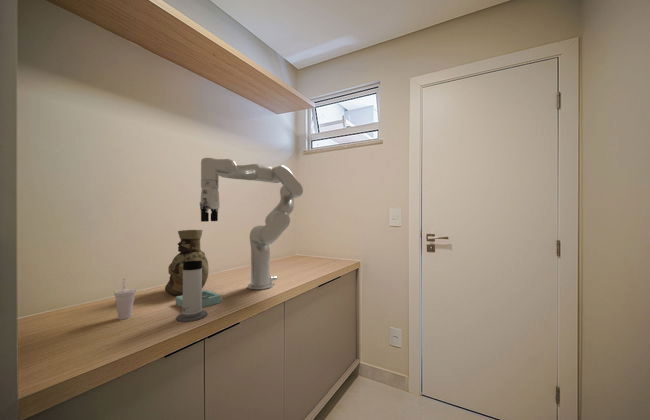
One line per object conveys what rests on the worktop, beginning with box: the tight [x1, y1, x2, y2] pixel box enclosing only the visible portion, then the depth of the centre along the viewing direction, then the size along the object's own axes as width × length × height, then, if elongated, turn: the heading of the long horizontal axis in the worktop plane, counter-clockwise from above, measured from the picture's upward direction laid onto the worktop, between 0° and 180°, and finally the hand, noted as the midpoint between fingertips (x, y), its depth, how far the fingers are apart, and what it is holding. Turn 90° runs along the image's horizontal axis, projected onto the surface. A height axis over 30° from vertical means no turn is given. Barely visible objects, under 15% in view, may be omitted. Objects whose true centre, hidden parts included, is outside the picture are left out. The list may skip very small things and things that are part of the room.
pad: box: [176, 309, 208, 323], centre depth 94 cm, size 10×10×1 cm
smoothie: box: [113, 278, 137, 321], centre depth 94 cm, size 6×6×14 cm
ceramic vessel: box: [164, 229, 210, 297], centre depth 127 cm, size 19×21×30 cm
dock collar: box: [175, 289, 222, 309], centre depth 109 cm, size 13×13×4 cm
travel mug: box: [182, 261, 203, 318], centre depth 94 cm, size 6×7×20 cm
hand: (209, 221), depth 120 cm, fingers open, 9 cm apart
